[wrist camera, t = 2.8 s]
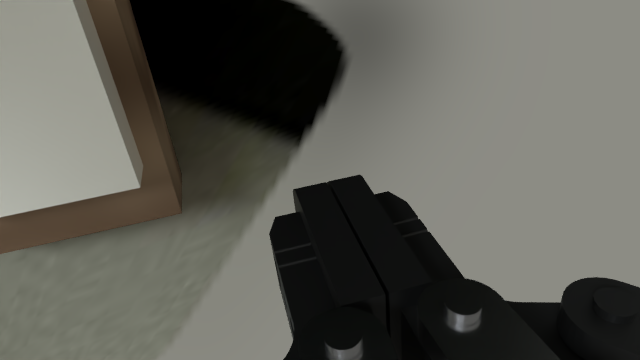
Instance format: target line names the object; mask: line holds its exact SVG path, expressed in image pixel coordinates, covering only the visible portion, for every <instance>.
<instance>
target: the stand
mask: <svg viewBox="0 0 640 360" xmlns="http://www.w3.org/2000/svg"><path fill="white" fill-rule="evenodd" d="M86 2H87V5H88V8H89V11H90V13H91V16H92V19H93V22H94V25H95V28H96V31H97V34H98V37H99V39H100V42H101V45H102V48H103V51H104V54H105V57H106V60H107V62H108V65H109V68H110V71H111V74H112V77H113V80H114V83H115V86H116V88H117V91H118V94H119V97H120V100H121V103H122V106H123V109H124V111H125V114H126V117H127V120H128V123H129V126H130V129H131V132H132V135H133V137H134V140H135V143H136V146H137V149H138V152H139V155H140V158H141V160H142V163H143V172H142V179H141V186H140V188H136V189H131V190H127V191H122V192H117V193H113V194H108V195H103V196H98V197H94V198H89V199H84V200H80V201H75V202H70V203H66V204H61V205H56V206H51V207H47V208H42V209H37V210H33V211H28V212H23V213H18V214H14V215H9V216H4V217H0V254H2V253H7V252H11V251H15V250H20V249H24V248H29V247H33V246H38V245H42V244H47V243H51V242H56V241H60V240H65V239H69V238H74V237H78V236H82V235H87V234H91V233H96V232H100V231H105V230H109V229H114V228H118V227H123V226H127V225H132V224H136V223H140V222H145V221H149V220H154V219H158V218H163V217H167V216H172V215H176V214H181V213H182V174H181V171H180V168H179V164H178V161H177V158H176V154H175V151H174V148H173V144H172V141H171V138H170V134H169V131H168V128H167V124H166V121H165V118H164V114H163V111H162V108H161V104H160V101H159V98H158V95H157V91H156V88H155V85H154V81H153V78H152V75H151V71H150V68H149V65H148V61H147V58H146V55H145V51H144V48H143V45H142V41H141V38H140V35H139V31H138V28H137V25H136V21H135V18H134V15H133V11H132V8H131V5H130V1H129V0H86Z"/></svg>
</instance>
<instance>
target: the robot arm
mask: <svg viewBox="0 0 640 360" xmlns="http://www.w3.org/2000/svg"><path fill="white" fill-rule="evenodd" d="M293 196H294V203H295V210H296V213H291V214H287V215H282V216H278V217H275V219H274V222H273V225H272V228H271V231H270V234H269V235H270V240H271V245H272V250H273V255H274V260H275V265H276V270H277V275H278V280H279V286H280V290H281V294H282V298H283V302H284V305H285V310H286V313H287V317H288V321H289V325H290V329H291V333H292V337H293V343H292V346H291V348H290V350H289V352H288V354H287V355H286V357H285V358H284V359H283V360H640V288H639V287H636V286H633V285H630V284H627V283H624V282H620V281H617V280H613V279H608V278H597V277H595V278H584V279H580V280H577V281H575V282H573V283H571V284H570V285H569V286H568V287H566V289H565V291H564V293H563V296H562V300H561V303H545V302H544V303H541V302H540V303H537V302H527V303H526V302H510V301H505V300H504V299H503V298H502V297H501V296H500V295H499V294H498V293H497V292H496V291H495V290H493V289H492V288H490V287H489V286H487V285H485V284H483V283H480V282H477V281H475V280H470V279H465V278H464V277H463V275H462V274H461V273H460V271H459V270H458V269H457V267H456V266H455V265H454V263H453V262H452V261H451V260H450V258H449V257H448V256H447V254H446V253H445V252H444V250H443V249H442V248H441V246H440V245H439V244H438V242H437V241H436V240H435V238H434V237H433V236H432V235H431V233H430V232H428V231H427V228H426V227H425V226H424V224H423V223H422V221H421V220H420V219H418V216H417V215H416V214H415V212H414V211H413V210H412V208H411V207H410V206H409V204H408V203H407V202H406V201H404V200H403V199H401V198H399V197H397V196H396V195H393V194H392V193H390V192H389V191H387V192H383V193H378V194H374V193H373V192H372V190H371V189H370V187H369V186H368V185H367V183H366V182H365V180H364V178H363V177H362V176H361V175H356V176H351V177H347V178H342V179H338V180H333V181H329V182H327V183H320V184H316V185H311V186H307V187H302V188H298V189H294V190H293Z"/></svg>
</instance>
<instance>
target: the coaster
mask: <svg viewBox="0 0 640 360" xmlns="http://www.w3.org/2000/svg"><path fill="white" fill-rule="evenodd" d="M142 172H143V163H142V160H141V158H140V155H139V152H138V149H137V146H136V143H135V140H134V137H133V135H132V132H131V129H130V126H129V123H128V120H127V117H126V114H125V111H124V109H123V106H122V103H121V100H120V97H119V94H118V91H117V88H116V86H115V83H114V80H113V77H112V74H111V71H110V68H109V65H108V62H107V60H106V57H105V54H104V51H103V48H102V45H101V42H100V39H99V37H98V34H97V31H96V28H95V25H94V22H93V19H92V16H91V13H90V11H89V8H88V5H87V2H86V0H0V217H4V216H9V215H14V214H18V213H23V212H28V211H33V210H37V209H42V208H47V207H51V206H56V205H61V204H66V203H70V202H75V201H80V200H84V199H89V198H94V197H98V196H103V195H108V194H113V193H117V192H122V191H127V190H131V189H136V188H140V186H141V179H142Z"/></svg>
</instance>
